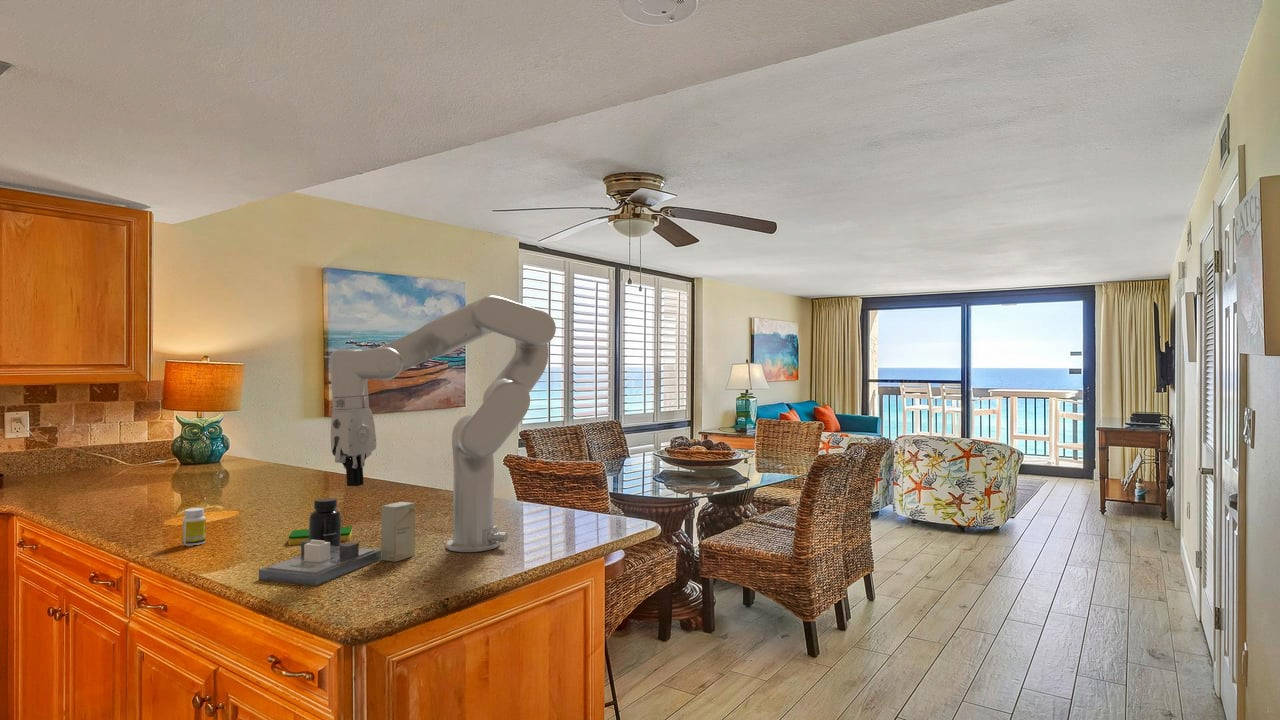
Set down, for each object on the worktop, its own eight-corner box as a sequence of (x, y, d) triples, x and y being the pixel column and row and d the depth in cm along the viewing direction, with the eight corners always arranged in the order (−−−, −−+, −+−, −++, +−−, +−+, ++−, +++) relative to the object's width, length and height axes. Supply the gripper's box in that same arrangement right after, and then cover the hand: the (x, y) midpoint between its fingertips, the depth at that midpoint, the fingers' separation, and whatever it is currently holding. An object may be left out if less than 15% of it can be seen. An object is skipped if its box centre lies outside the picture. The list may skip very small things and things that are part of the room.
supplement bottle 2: (328, 555, 158) (328, 503, 159) (302, 554, 160) (302, 501, 160) (347, 548, 165) (347, 497, 165) (321, 546, 167) (321, 496, 167)
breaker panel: (381, 559, 156) (381, 536, 156) (315, 586, 137) (315, 560, 137) (329, 554, 160) (329, 531, 160) (258, 579, 141) (258, 554, 141)
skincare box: (395, 562, 153) (395, 507, 153) (380, 560, 155) (380, 505, 155) (415, 555, 159) (415, 502, 159) (400, 553, 161) (401, 500, 161)
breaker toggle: (330, 558, 147) (330, 539, 147) (319, 562, 145) (319, 542, 145) (314, 557, 149) (314, 538, 149) (304, 561, 146) (304, 541, 146)
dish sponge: (349, 542, 172) (349, 532, 172) (288, 546, 168) (288, 536, 168) (352, 535, 179) (352, 526, 179) (293, 539, 175) (293, 529, 175)
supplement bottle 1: (210, 542, 170) (210, 508, 170) (190, 547, 166) (190, 512, 166) (197, 540, 172) (197, 506, 172) (178, 545, 168) (178, 510, 168)
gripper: (341, 406, 148) (346, 492, 148) (386, 401, 162) (390, 479, 163) (312, 407, 150) (317, 492, 151) (359, 401, 165) (363, 479, 165)
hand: (355, 485), depth 157 cm, fingers closed
